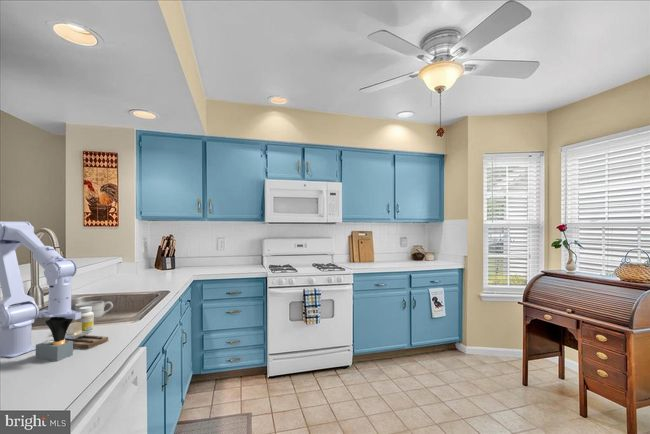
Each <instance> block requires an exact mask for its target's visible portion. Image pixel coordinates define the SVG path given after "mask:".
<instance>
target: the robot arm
mask: <svg viewBox="0 0 650 434" xmlns="http://www.w3.org/2000/svg"><path fill="white" fill-rule="evenodd" d="M22 246H24V247H26V248H27V249H29V250H30V251H31V252H32V259H33V260H34V261H36V263H37V264H38V265H39V266H40V267H41V268H42V269H44V270H43V275H44V277H45V279H46V285H47V286H48V302H47V303H48V309H44V310H40V309H39V306H38V305H37V303H36V301H35V298H34V297H32V296H30V295H27V294H26V292H25V288H24V283H23V279H22V275H21V270H20V266H19V262H18V257H17V252H16V250H17V249H18V248H20V247H22ZM77 269H78V268H77V264H76V262H75V261H74V260H73V259H67V258H64V257H63V256H62V255H61V254H60V253H59V252H57V250H55V247H53V246H50V245H45V244H44V243H43V242H42V241H41V239H40V238H39V237H38V236H37V235H36V233H35V227H34V226H33V225H32V224H31V223H30V222H29V221H26V220H25V221H0V288H1V294H2V298H3V299H2V300H1V301H0V357H2V358H15V357H18V356H21V355H24V354H26V353H30V352H32V351H36V346H32V329H33V328H32V324H34V323H35V320H37V318H39V319H40V318H42V319H43V318H49V319H47V320H45V324H46V325H47V327H48V329H49V330H50V333H51V335H52V338H53V339H54V341H55V342H59V341H62V340H64V338H65V335H66V333H67V329H68V327H69V325H70V323H73V321H77V319H80V318H81V312H76V311H75V310H73V309H72V289H73V288H72V287H73V286H72V285H73V283H72V282H73V280H72V279H73V277H74V276H76V273H77Z"/></svg>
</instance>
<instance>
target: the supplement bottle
mask: <svg viewBox="0 0 650 434" xmlns="http://www.w3.org/2000/svg"><path fill="white" fill-rule="evenodd" d="M91 310H92V307H91V306H87V307H81V308H79V311H80V312H81V318H80V319H77V320H76V322H82V331H89V333H91V332H93V331H94V324H95V323H94V313H93V312H91Z"/></svg>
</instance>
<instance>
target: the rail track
mask: <svg viewBox="0 0 650 434" xmlns="http://www.w3.org/2000/svg"><path fill="white" fill-rule="evenodd" d="M64 339H65V340H66V341H73V349H82V350H89V349H92V348H94V347H95V348H96V347H97V346H99V345H102V344H105V343H107V342H109V336H104V335H103V336H102V335H101V336H100V335H90V334H87V335H84V336H81V337H79V338H76V339H66V338H64Z"/></svg>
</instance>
